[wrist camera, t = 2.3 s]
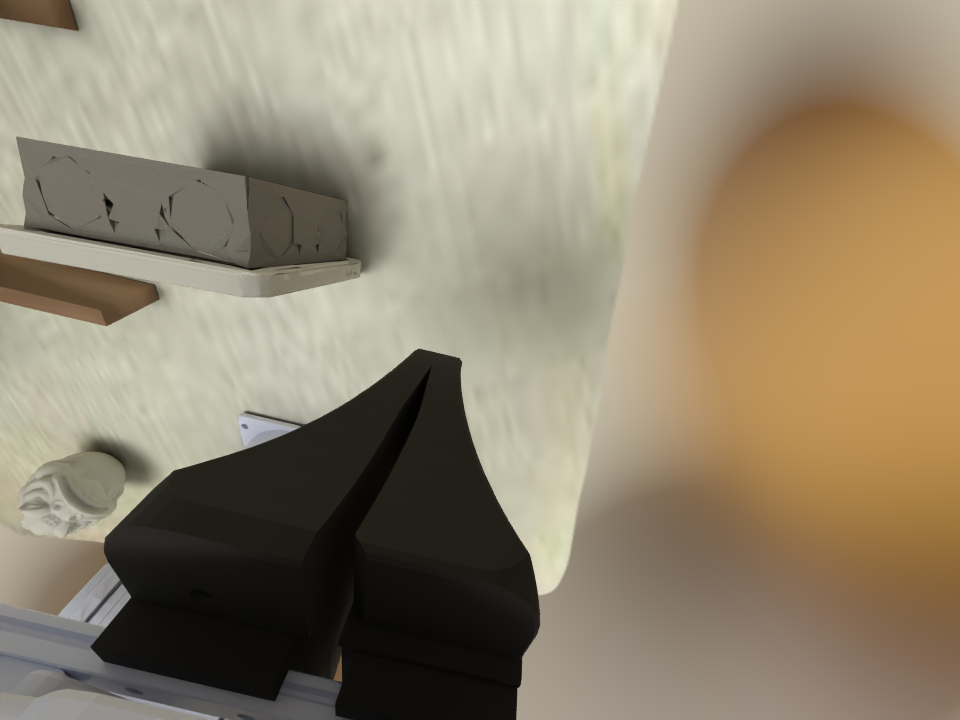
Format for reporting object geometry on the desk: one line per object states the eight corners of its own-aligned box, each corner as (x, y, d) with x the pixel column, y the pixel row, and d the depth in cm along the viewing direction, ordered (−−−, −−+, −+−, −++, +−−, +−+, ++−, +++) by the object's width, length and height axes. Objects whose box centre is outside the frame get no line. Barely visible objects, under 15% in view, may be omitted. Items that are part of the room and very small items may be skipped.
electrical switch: (204, 246, 22) (8, 300, 14) (184, 141, 19) (-69, 130, 11) (367, 275, 21) (268, 348, 13) (368, 172, 19) (247, 184, 11)
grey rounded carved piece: (167, 475, 34) (91, 550, 29) (117, 488, 37) (38, 559, 31) (110, 426, 32) (14, 498, 26) (60, 442, 34) (-39, 512, 28)
